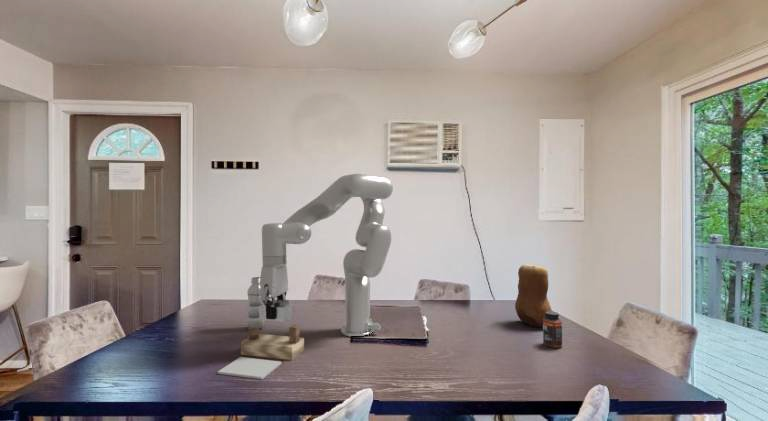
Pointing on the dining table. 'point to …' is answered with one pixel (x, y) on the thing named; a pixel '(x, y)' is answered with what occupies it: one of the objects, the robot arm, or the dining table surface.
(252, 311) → the plastic bottle
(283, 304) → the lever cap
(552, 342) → the supplement bottle
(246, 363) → the mat
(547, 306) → the butternut squash
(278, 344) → the wooden peg stand
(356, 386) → the dining table surface
